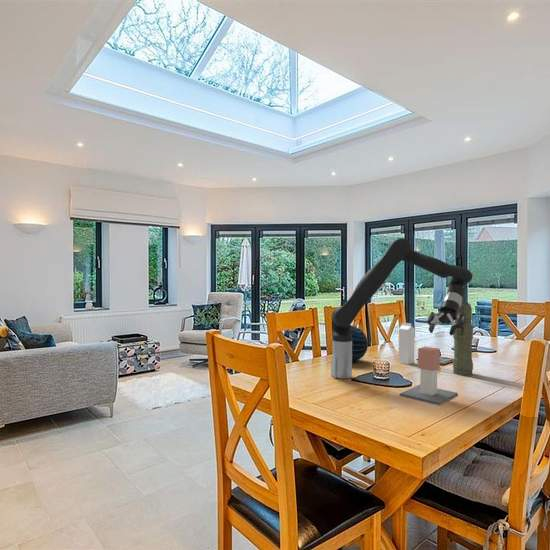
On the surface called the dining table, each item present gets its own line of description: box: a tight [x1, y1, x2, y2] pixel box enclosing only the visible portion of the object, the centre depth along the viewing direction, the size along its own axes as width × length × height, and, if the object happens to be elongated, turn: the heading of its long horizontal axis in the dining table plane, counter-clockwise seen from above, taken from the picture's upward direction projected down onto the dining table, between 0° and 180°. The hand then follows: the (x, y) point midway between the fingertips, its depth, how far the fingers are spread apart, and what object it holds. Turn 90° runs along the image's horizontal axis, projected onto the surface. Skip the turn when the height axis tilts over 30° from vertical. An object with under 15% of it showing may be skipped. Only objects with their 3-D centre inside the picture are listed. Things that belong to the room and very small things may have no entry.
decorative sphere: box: [331, 325, 369, 363], centre depth 220 cm, size 20×20×20 cm
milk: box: [398, 322, 415, 365], centre depth 217 cm, size 6×6×22 cm
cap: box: [417, 346, 441, 371], centre depth 159 cm, size 6×6×8 cm
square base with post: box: [399, 368, 458, 406], centre depth 159 cm, size 18×16×18 cm
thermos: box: [452, 301, 474, 377], centre depth 194 cm, size 9×12×35 cm
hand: (440, 333), depth 167 cm, fingers open, 8 cm apart
